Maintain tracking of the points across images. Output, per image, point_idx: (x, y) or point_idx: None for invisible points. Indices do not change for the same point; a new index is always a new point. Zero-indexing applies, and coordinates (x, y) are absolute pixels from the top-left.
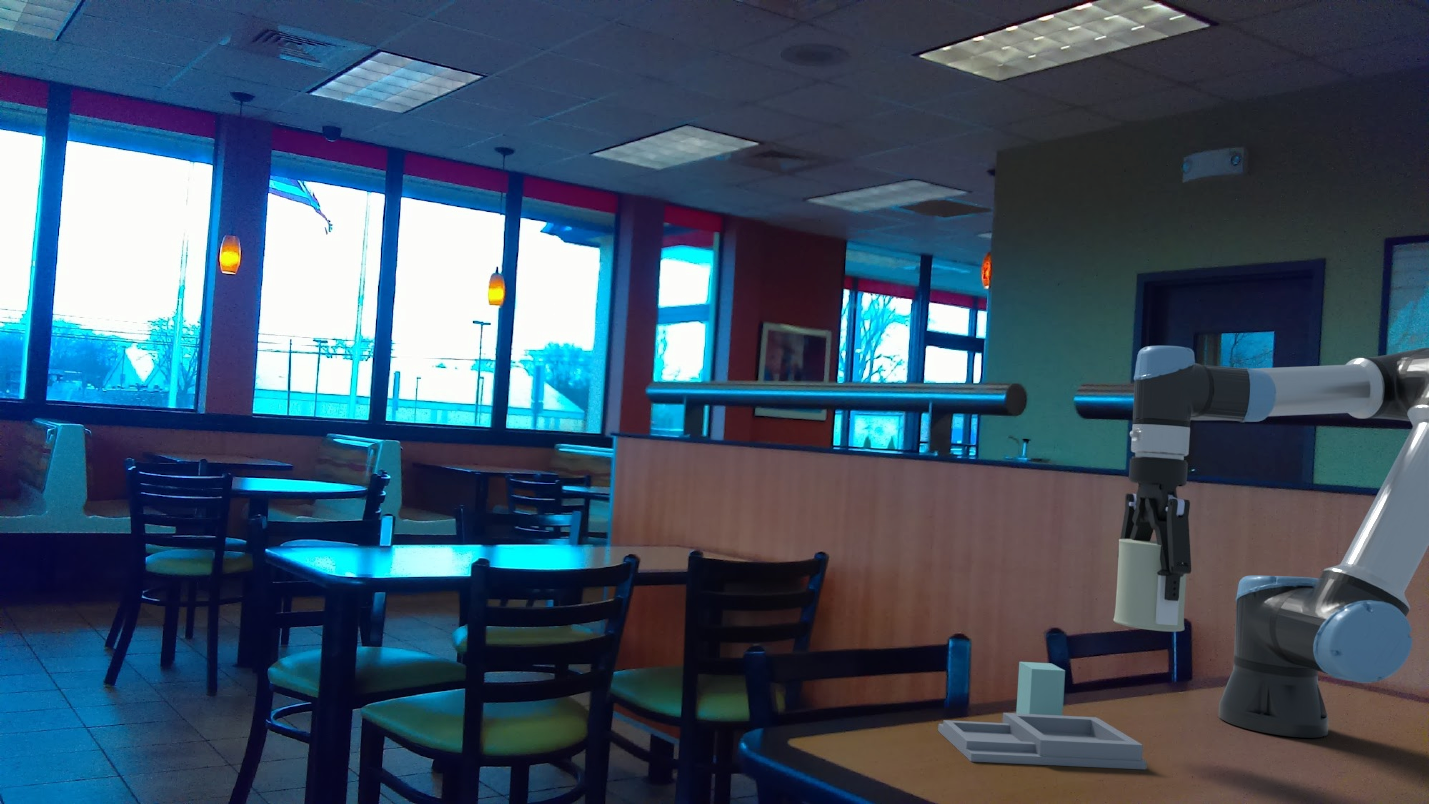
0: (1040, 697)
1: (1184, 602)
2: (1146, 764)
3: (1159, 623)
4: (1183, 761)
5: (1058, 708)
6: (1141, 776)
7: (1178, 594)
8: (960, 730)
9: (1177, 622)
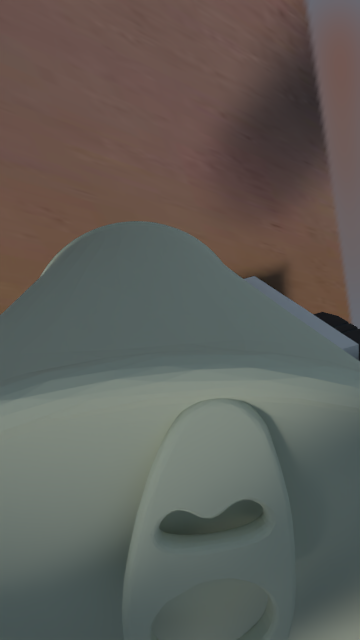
0: None
1: (191, 247)
2: (264, 282)
3: None
4: (204, 215)
5: None
6: (291, 292)
7: (345, 323)
8: None
9: (257, 278)
